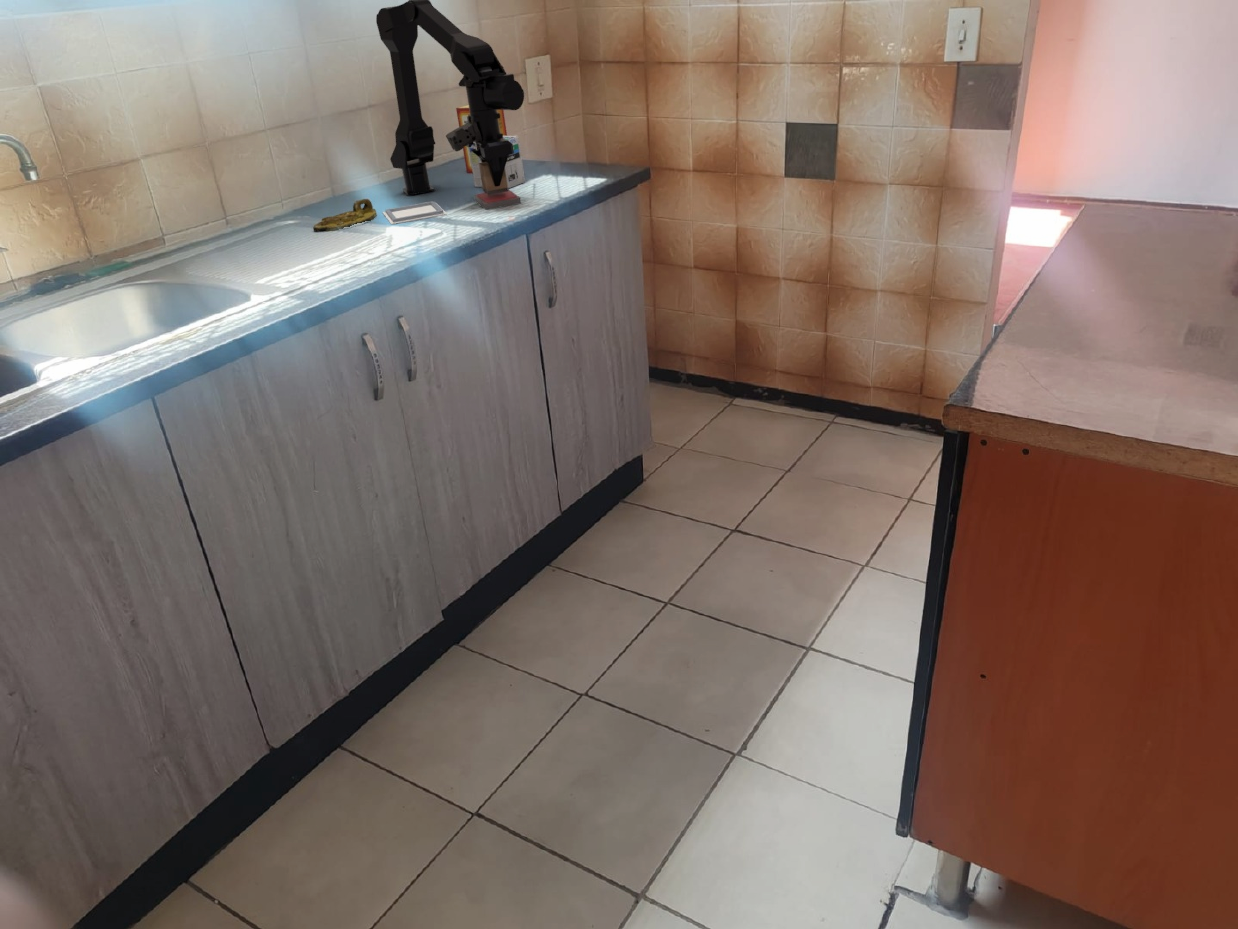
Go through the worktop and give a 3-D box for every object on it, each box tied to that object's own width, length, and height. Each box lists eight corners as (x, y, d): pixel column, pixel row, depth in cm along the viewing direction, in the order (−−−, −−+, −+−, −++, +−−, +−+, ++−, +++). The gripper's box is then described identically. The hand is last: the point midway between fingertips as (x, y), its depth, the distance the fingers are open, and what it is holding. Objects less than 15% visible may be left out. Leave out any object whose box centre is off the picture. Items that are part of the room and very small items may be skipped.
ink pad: (474, 200, 207) (473, 193, 207) (509, 194, 210) (508, 187, 209) (485, 209, 199) (484, 202, 198) (521, 203, 201) (520, 196, 200)
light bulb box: (526, 182, 219) (519, 134, 214) (508, 189, 215) (501, 140, 209) (491, 180, 225) (484, 134, 220) (473, 187, 220) (465, 140, 215)
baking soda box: (467, 172, 235) (455, 106, 228) (484, 167, 240) (473, 101, 232) (495, 174, 230) (484, 106, 223) (511, 168, 235) (502, 101, 227)
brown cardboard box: (483, 190, 204) (478, 162, 201) (502, 187, 206) (498, 159, 203) (488, 194, 201) (483, 166, 198) (508, 191, 202) (504, 162, 199)
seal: (328, 241, 194) (388, 222, 203) (323, 219, 191) (384, 200, 200) (304, 230, 199) (363, 212, 208) (299, 209, 196) (360, 191, 205)
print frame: (382, 213, 205) (382, 209, 205) (436, 203, 208) (435, 199, 208) (391, 224, 195) (390, 220, 195) (447, 214, 198) (446, 210, 198)
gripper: (436, 109, 200) (449, 182, 208) (455, 119, 185) (468, 198, 192) (486, 101, 203) (497, 174, 211) (508, 111, 188) (519, 189, 196)
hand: (494, 184), depth 202 cm, fingers closed on brown cardboard box, 4 cm apart
